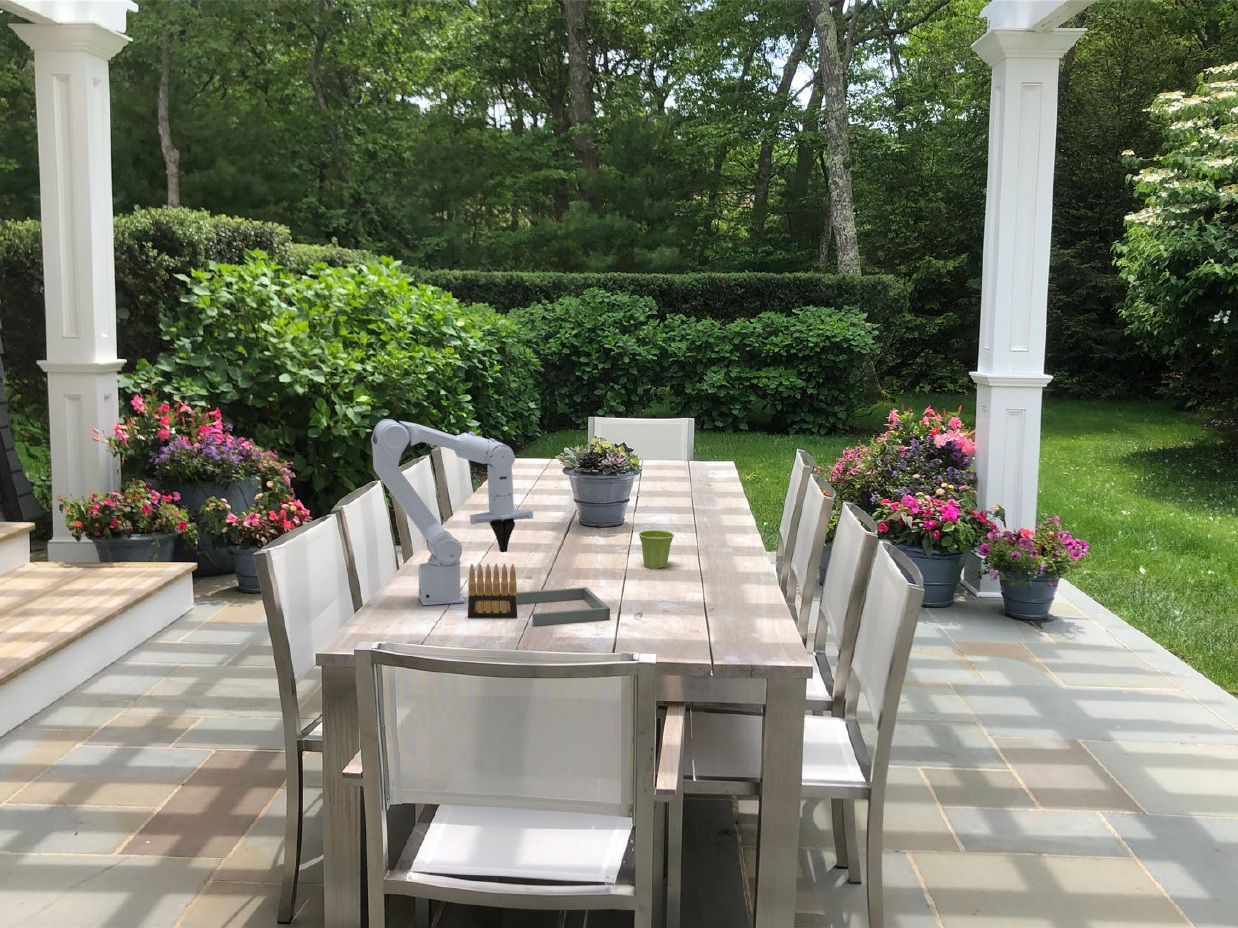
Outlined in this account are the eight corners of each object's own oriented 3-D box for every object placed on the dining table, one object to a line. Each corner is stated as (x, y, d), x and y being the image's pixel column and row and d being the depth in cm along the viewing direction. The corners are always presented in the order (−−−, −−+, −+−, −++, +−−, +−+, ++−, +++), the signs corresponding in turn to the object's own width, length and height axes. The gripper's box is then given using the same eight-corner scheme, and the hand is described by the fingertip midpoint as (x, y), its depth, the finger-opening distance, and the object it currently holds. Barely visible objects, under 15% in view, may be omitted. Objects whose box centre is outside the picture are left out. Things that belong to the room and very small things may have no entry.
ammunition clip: (467, 618, 225) (467, 564, 223) (468, 616, 227) (467, 562, 225) (517, 618, 225) (517, 564, 224) (517, 615, 227) (517, 562, 226)
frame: (533, 626, 220) (533, 614, 219) (515, 603, 237) (515, 592, 236) (609, 619, 225) (610, 608, 225) (586, 597, 242) (586, 587, 242)
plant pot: (674, 562, 277) (675, 530, 275) (672, 571, 267) (673, 538, 266) (639, 561, 278) (640, 529, 276) (636, 569, 268) (637, 537, 267)
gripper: (473, 500, 234) (475, 558, 236) (535, 494, 239) (537, 551, 241) (467, 494, 241) (470, 551, 243) (528, 489, 245) (530, 545, 247)
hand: (503, 551), depth 242 cm, fingers closed
